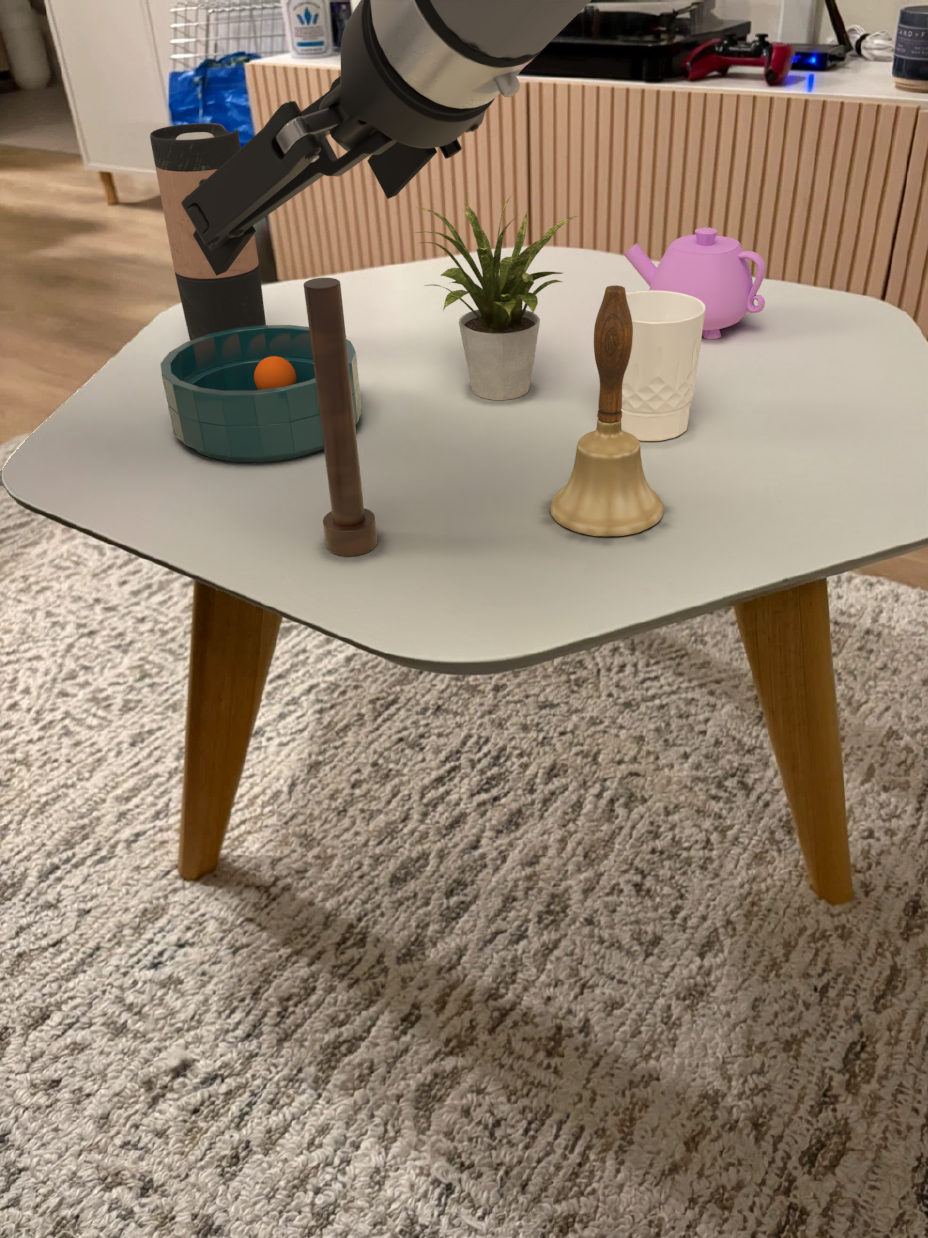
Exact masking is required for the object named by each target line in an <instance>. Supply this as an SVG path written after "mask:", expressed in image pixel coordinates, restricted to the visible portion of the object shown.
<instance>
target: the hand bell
mask: <svg viewBox="0 0 928 1238" xmlns="http://www.w3.org/2000/svg"><path fill="white" fill-rule="evenodd" d="M626 293H627V292H626V287H624V286H622V285H617V284H616V285H607V286H606V288H605V290H604V294H603V298H602V301H601V304H600V305H599V306H600V307H599V309H598V311H597V315H596V319H595V322H594V329H593V353H594V361H595V365H596V369H597V374H598V377H599V393H598V403H597V405H598V408H597V414H596V416H597V420H596V429H595V430H593V431H590V432H587V433H585V434H583V435H582V436H581V437H580V438H579V440H578V441H577V444H576V451H575V458H574V464H573V467H572V471H571V474H570V476H569V478H568V480H567V482H566V483H565V485H564V487H562V488H561V489H560V490H558V491H557V492H556V494H555V495H554V496H553V498H552V500H551V502H550V506H549V511H550V515H551V517H552V518H553V519H554V520H555V522H556V523H557V524H559V525H560V526H562V527H564V528H566V529H568V530H570V531H573V532H575V533H579V534H582V535H587V536H592V537H622V536H623V537H624V536H629V535H633V534H638V533H641V532H643V531H646V530H648V529H650V528H652V527H653V526H655V525H656V524H658V523H659V522H660V520H661V519H662V518H663V516H664V513H665V505H664V503H663V501H662V499H661V498H660V496H659V495H658V493H657V492H656V491H655V490H654V489H652V488H651V486H650V485H649V483H648V481H647V479H646V476H645V473H644V469H643V462H642V452H641V442H640V440H638V439H637V438H636V437H635V436H634V435H632V434H630V433H628V432H625V431H623V430H622V428H621V418H622V410H621V409H622V383H623V378H624V374H625V371H626V369H627V366H628V363H629V359H630V355H631V349H632V339H633V325H632V318H631V314H630V310H629V306H628V303H627V299H626Z"/></svg>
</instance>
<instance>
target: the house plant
mask: <svg viewBox="0 0 928 1238" xmlns="http://www.w3.org/2000/svg"><path fill="white" fill-rule="evenodd" d="M512 196H513V194H511V196H509V197H508V199H507V201H506V202H505V204H504V206H503V209H502V212H501V215H500V219H499V225H498V231H497V239H496V244H495V247H494V251H493V250H492V247H491V243H490V241H489V239H488V236H487V234H486V233H485V231H484V230H483V228H482V227H481V225H480V221H479V218H478V216H477V214H476V212H475V211H474V210H473V209H472V208H471V207H470V206H469V205H468V204H466V203H464V206H465V208H466V209H467V210H466V209H464V207H461V209H462V211H463V213H464V214H465V215H466V216H467V221H468V222H469V224H470V225H471V228H472V233H473V236H474V238H475V242H476V245H477V248H476V254H477V258H478V261H479V264H480V269H481V271H480V269H479V268H478V266H477V264H476V262H475V260H474V258H473V257H472V255H471V253H470V252H469V250H468V248H467V247H466V245H465V243H464V242H463V240H462V238H461V236H460V235H459V233H458V231H457V230H456V228H455V227H454V226H453V224H452V223H451V222H450V221H449V220H448V219H447V218H446V217H445V216H443V215H441V214H440V213H439V212H436V211H433V210H430V209H428V208H424V207H418V206H415V208H417V209H420V210H424V211H426V212H429V213H431V214H433V215H435V216H436V217H437V218H438V219H440V220H441V221H442V222H443V223H444V225H446V227H447V228H448V230H449V231H450V233H451V234H452V236H453V238H452V237H450V236H449V235H447V234H444V233H441V232H437V231H426V230H425V231H415V232H413V233H415V234H416V233H417V234H418V233H419V234H420V233H422V234H423V233H427V234H436V235H439V236H441V237H443V238H444V239H446V240H447V241H449V242H450V243H451V244H452V245H453V246H454V247H455V248H456V249H457V251H458V252H459V253H460V254H461V255H462V256H463V258H464V259H465V261H466V262H467V264H468V265H469V267H470V269H471V270H472V272H473V274H474V275H475V276H476V278H477V281H478V283H479V284H480V285H478V284H477V283H475V282H474V280H473V279H472V278H471V276H470V275H469V274H468V273H467V272H466V271H465V270H464V268H463V267H462V265H461V264H460V262H459V261H458V260H457V258H456V257H455V256H454V255H453V253H451V251H450V250H448V249H447V248H446V247H444V246H443V245H442V244H439V243H436V242H433V241H422V242H420V244H433V245H435V246H438V247H439V248H440V249H441V250H443V251H444V252H445V253H446V254H447V255H448V256H449V257H450V258H451V260H452V261H453V262H454V263H455V264H456V266H457V267H450V268H448V269H446V270H445V271H443V273H441V274H440V277H441V278H442V277H446V278H448V279H452V280H454V281H451V282H449V283H448V285H449V284H457V285H461V286H462V287H463V288H464V289H456V290H451V289H449V288H447V287H444V286H442V285H441V284H433V283H432V284H424V285H421V286H424V287H429V286H431V287H432V286H433V287H441V288H443V289H446V290H447V291H449V293H448V294H447V295H446V296H445V300H444V303H443V309H442V312H444V311H445V309H446V307H448V306H450V305H451V304H453V303H455V302H456V301H458V300H460V301H461V302H462V303H463V304H464V305H465V306H466V307H467V308H468V309H470V311H468V312H466V313H465V314H463V315H462V316H461V317H460V318H459V320H458V327H459V331H460V336H461V342H462V347H463V351H464V356H465V361H466V366H467V370H468V375H469V380H470V385H471V390H472V393H473V394H474V395H475V396H477V397H479V398H481V399H486V400H491V401H507V400H508V401H509V400H513V399H519V398H520V397H523V396H525V395H527V394H528V393H529V391H530V387H531V381H532V376H533V375H532V374H533V368H534V362H535V356H536V350H537V343H538V336H539V329H540V323H541V319H540V317H539V316H538V314H536V313H535V310H536V308H537V305H539V304H538V301H539V299H538V293H539V292H541V291H542V290H543V289H545V288H546V287H548V286H550V285H553V284H557V283H563V281H562V280H558V279H551V280H547V281H545V282H543V283H542V284H541V285H539V286H538V287H536V289H535V290H534V291H533V292H530V291H531V289H532V287H533V285H534V284H535V281H536V280H538V279H542V278H545V277H548V276H552V275H563V272H561V271H537V272H533V273H527V271H528V269H529V267H530V265H531V264H532V262H533V261H534V259H535V258H536V256H537V255H538V254H539V253H540V252H541V250H543V248H544V247H545V246H546V244H548V243H549V241H550V240H551V239H552V238H553V236H554V235H555V233H557V231H558V230H559V229H560V228H562V226H564V225H565V224H567V223H569V222H570V221H572V220H573V219H575V218H577V217H578V215H577V216H576V215H575V216H571V217H568V218H565V219H563V220H561V221H559V222H558V223H556V224H554V226H552V227H551V228H549V230H548V231H547V232H545V234H543V236H542V237H541V238H540V239H539V240H536V241H534V242H533V243H531V244H530V245H529V246H527V247H526V248H525V249H523V251H522V248H523V246H524V242H525V239H526V233H527V227H528V212H527V211H526V212H525V215H524V216H523V219H522V222H521V226H520V227H519V230H518V232H517V235H516V240H515V243H514V247H513V249H512V250H513V251H512V253H511V256H505V257H504V258H502V249H503V248H502V247H503V244H504V243H503V242H504V238H505V234H506V232H507V231H506V230H507V229H508V227H509V226H510V225H511V223H512V222H514V220H515V219H517V217H518V216H519V215H520V213H521V212H520V213H519V214H517V215H516V216H515V217H514V218H513V219H512V220H511V221H509V223H507V224H506V226H504V228H503V229H502V231H501V226H502V225H501V224H502V219H503V214H504V212H505V209H506V207H507V204H508V202H510V201H509V200H510V199H511V197H512ZM500 231H501V232H500ZM521 251H522V252H521ZM501 258H502V259H501ZM481 273H482V274H481ZM468 294H469V296H470V297H471V299H472V301H473V303H474V304H475V306H476V308H477V309H474V308H472V306H471V305H470V304H468V303H467V302H466V301H465V300H464V299H463V298H462V297H464V296H466V295H468ZM523 302H524V305H523ZM527 308H529V309H530V310H527Z"/></svg>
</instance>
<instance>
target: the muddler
mask: <svg viewBox="0 0 928 1238" xmlns="http://www.w3.org/2000/svg"><path fill="white" fill-rule="evenodd" d="M341 285H342V284H341V281H340V280H339V279H337V278H335V277H316V278H311V279H308V280H306V281H305V282H304V283H303V293H304V300H305V309H306V315H307V323H308V327H309V332H310V340H311V348H312V356H313V364H314V372H315V380H316V388H317V396H318V404H319V412H320V420H321V428H322V436H323V444H324V449H323V452H324V459H325V467H326V475H327V483H328V491H329V500H330V507H331V511H329V512H328V513H326V514H325V516H324V517H323V519H322V527H323V534H324V542H325V547H326V549H327V550H328V551H329V552H330V554H331V553H332V554H333V555H336V556H341V557H356V556H362V555H365V554H367V553H369V552H371V551H372V550H374V549H375V548H376V546H377V545H378V533H377V524H376V523H377V521H376V515H375V514H374V513H373V511H371V509H368V508H365V505H364V497H363V495H364V494H363V485H362V477H361V467H360V466H361V465H360V457H359V456H360V455H359V448H358V438H357V437H358V436H357V429H356V425H355V418H354V409H353V399H352V390H351V380H350V371H349V361H348V351H347V342H346V339H347V333H346V332H347V331H346V325H345V323H346V322H345V315H344V305H343V296H342V286H341Z"/></svg>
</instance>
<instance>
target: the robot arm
mask: <svg viewBox="0 0 928 1238" xmlns="http://www.w3.org/2000/svg"><path fill="white" fill-rule="evenodd" d="M591 1H592V0H359V2H358V3H357V5H356V7H355V8H354V10H353V11H352V13H351V15H350V16H349V18H348V20H347V21H346V24H345V25H344V29H343V32H342V36H341V41H340V75H339V76H338V77H337V78H335V79H334V80H333V81H332V83H331V85H330V88H329V90H328V91H327V92H326V93H324V94H323V95H322V96H320V97H319V98H318V99H316V100H315V101H314V102H312V103H310V104H309V105H308V106H307V107H305V108H304V109H303V110H301V109H300V107H299V105H298V103H297V101H295V100H291V101H287V102H284V103H283V104H280V105H279V107H278V109H276V111H275V112H274V113H273V114H272V115H271V117H270V118H269V120H268V121H267V122H266V124H265V125H264V126H263V127H262V128H261V130H259V132H257V133H256V134H255V135H253V136H252V137H251V138H250V140H248V141H247V142H246V143H245V144H243V146H241V149H239V150H238V151H237V152H236V153H235V154H234V155H233V156H232V157H231V158H229V159H228V160H227V161H226V162H225V163H224V164H223V165H222V166H221V167H219V168H218V169H217V170H216V171H215V172H214V173H213V174H212V175H211V176H209V177H208V178H207V179H205V180H204V179H202V180H201V181H200V182H199V186H198V187H197V188H196V189H195V190H194V191H193V192H192V193H190V194H189V195H187V196H186V197H185V199H184V200H183V201H182V202H181V204H182V206H183V208H184V210H185V211H186V213H187V215H188V217H189V218H190V220H191V222H192V224H193V225H194V227H195V229H196V230H195V232H194V234H193V236H194V238H195V240H196V241H197V243H198V245H199V247H200V248H201V250H202V252H203V253H204V255H205V257H206V259H207V260H208V262H209V264H210V266H211V267H212V269H213V271H214V272H215V274H216V276H217V275H220V274H222V273H224V272H226V271H227V270H228V269H229V268H230V266H231V265H232V263H233V262H234V261H235V259H236V258H237V257H238V255H239V254H240V252H241V251H242V250H243V248H244V247H245V246H246V244H247V243H248V241H249V240H250V239H251V237H252V236H253V235H254V236H255V234H256V232H257V230H256V228H255V227H254V226H255V225H256V224H257V223H259V222H261V220H263V219H264V218H266V217H267V216H269V215H270V214H271V213H273V212H275V211H276V210H277V209H278V208H280V207H282V206H283V205H284V204H286V203H287V202H289V201H290V200H291V199H293V198H294V197H296V196H297V195H298V194H300V193H301V192H303V191H304V190H305V189H307V188H308V187H310V186H311V185H313V184H314V183H315V182H317V181H319V179H321V178H322V177H324V176H326V177H340V176H341V177H342V176H343V175H344V174H345V173H347V172H348V171H350V170H351V169H352V168H354V167H356V166H358V164H361V162H362V161H365V159H367V158H368V157H369V158H368V159H367V163H368V165H369V168H370V169H371V171H372V173H373V174H374V177H375V179H376V181H378V184H379V186H380V188H381V189H382V191H383V193H384V195H385V197H386V199H387V200H389V199H392V198H395V196H398V194H399V193H401V191H402V190H403V189H404V188H405V187H406V186H407V185H408V184H409V183H410V182H411V181H412V179H414V178H415V176H417V174H418V173H419V172H420V171H421V170H422V169H423V168H424V167H425V166H426V165H427V164H428V163H429V162H430V160H432V159H433V158H434V157H435V156H436V155H437V153H438V150H437V149H436V148H439V149H440V151H441V153H442V155H443V157H444V159H445V160H447V159H449V158H452V157H454V156H455V155H457V154H458V153H459V152H461V151H462V149H463V148H462V146H461V144H460V142H459V140H458V139H460V137H461V136H462V135H463V134H464V133H466V134H468V133H470V132H471V133H474V132H475V131H477V130H478V129H479V128H480V126H481V125H482V124H483V122H484V118H485V114H486V111H487V110H488V108H489V107H490V106H491V105H492V103H493V102H494V101H495V99H496V98H497V97H499V96H500V95H502V96H503V97H504V98H512V97H513V96H515V95H516V94H518V93H519V91H520V89H521V84H520V80H519V78H518V77H517V76H518V75H519V74H520V73H521V72H522V71H523V69H524V68H525V67H526V66H527V65H529V64H530V63H531V62H532V61H533V60H534V59H535V58H536V57H537V56H539V54H540V53H542V51H543V50H544V49H545V48H546V47H547V46H548V45H549V43H550V42H552V40H553V39H554V38H555V37H557V36H558V35H559V33H560V32H562V30H564V29H565V28H566V26H567V25H569V24H570V23H571V22H572V21H573V19H574V18H576V16H577V15H579V14H580V13H581V12H582V11H583V10H584V9H585V8H586V7H587V6H588V4H590V3H591ZM329 135H330V137H331V138H332V140H334V142H336V143H337V144H338V145H339V146H340V147H341V148H342V149H343V150H344V151H346V152H345V153H344V154H342V155H341V156H340V157H338V156H337V155H336V153H335V150H334V149H333V147H332V145H331V143H330V141H329V139H328V138H327V136H329Z"/></svg>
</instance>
